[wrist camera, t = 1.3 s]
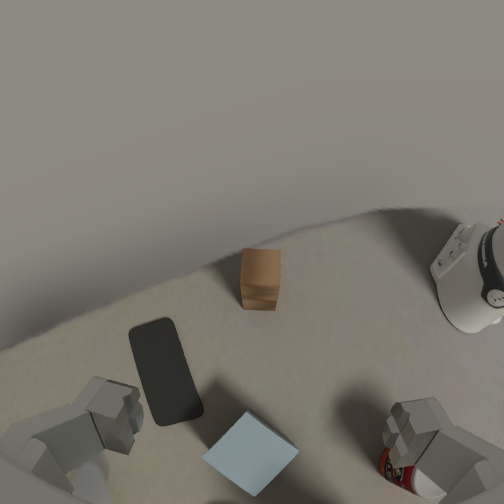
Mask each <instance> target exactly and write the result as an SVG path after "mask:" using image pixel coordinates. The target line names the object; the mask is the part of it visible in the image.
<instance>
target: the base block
mask: <svg viewBox="0 0 504 504" xmlns="http://www.w3.org/2000/svg"><path fill="white" fill-rule="evenodd" d="M298 452H299V450H298V448H297V447H296V446H295V445H294V444H293V443H292V442H291V441H289V440H288V439H286V438H285V437H283V436H282V435H281V434H279V433H278V432H277V431H275V430H274V429H273V428H271V427H270V426H268V425H267V424H266V423H264V422H263V421H262V420H261V419H259V418H258V417H257V416H255V415H254V414H253V413H252V412H250V411H249V410H247V411H246V412H245V413H244V414H243V415H242V416H241V417H240V418H239V419H238V421H237V422H236V423H235V424H234V425H233V426H232V427H231V428H230V429H229V430H228V431H227V432H226V433H225V434H224V435H223V436H222V437H221V438H220V439H219V440H218V441H217V442H216V443H215V444H214V445H213V446H212V447H211V448H210V449H209V450H208V451H207V452H206V453H205V454H204V456H203V457H202V458H203V459H204V460H205V461H206V462H208V463H209V464H210V465H211V466H213V467H214V468H215V469H216V470H218V471H219V472H220V473H222V474H223V475H224V476H226V477H227V478H228V479H230V480H231V481H232V482H234V483H235V484H237V485H238V486H239V487H241V488H242V489H244V490H245V491H247V492H248V493H250V494H251V495H253V496H254V497H255V496H256V495H257V494H258V493H259V492H260V491H261V490H262V489H263V488H264V487H265V486H267V485H268V484H269V483H270V482H271V481H272V480H273V479H274V478H275V477H276V476H277V475H278V474H279V473H280V472H281V470H282V469H283V468H284V467H285V466H286V465H287V464H288V463H289V462H290V461H291V460H292V459H293V458H294V457H295V456H296V454H297V453H298Z"/></svg>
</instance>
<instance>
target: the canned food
mask: <svg viewBox="0 0 504 504" xmlns="http://www.w3.org/2000/svg"><path fill="white" fill-rule="evenodd" d="M389 452H390V449H389V448H388V447H387V448H386V450H385V451H384V453H383V455H382V457H381V460H380V470H381V473H382V475H383V476H384V478H385V479H386V480H388V481H389V482H391V483H393V484H395V485H397V486H399V487H401V488H403V489H405V490H407V491H409V492H411V493H413V494H415V495H418V496H420V497H423V498H436V497H439V496H441V495H443V494H445V493H446V492H445V491H444V490H442V489H441V488H440V487H439V486H438V485H436V484H435V483H434V482H433V481H432V480H430V479H429V478H428V477H427V476H426V475H425V474H423V473H422V472H421V471H420V470H419V469H418V468H416V467H415V465H412V466H406V467H401V468H395V469H393V466H392V464H391V461H390V458H389V455H388V454H389Z"/></svg>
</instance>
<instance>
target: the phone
mask: <svg viewBox="0 0 504 504" xmlns="http://www.w3.org/2000/svg"><path fill="white" fill-rule="evenodd" d="M129 339H130V344H131V347H132V351H133V355H134V359H135V362H136V366H137V369H138V373H139V376H140V379H141V383H142V386H143V389H144V392H145V395H146V398H147V401H148V404H149V407H150V410H151V413H152V416H153V419H154V421H155V423H156V424H157V425H159V426H168V425H172V424H176V423H179V422H183V421H187V420H190V419H194V418H197V417H199V416H201V415H202V413H203V407H202V404H201V401H200V398H199V396H198V393H197V390H196V388H195V385H194V382H193V379H192V376H191V374H190V371H189V368H188V365H187V362H186V359H185V356H184V352H183V349H182V346H181V343H180V341H179V338H178V334H177V331H176V328H175V325H174V323H173V322H172V321H171V320H170V319H163V320H160V321H157V322H154V323H151V324H147V325H144V326H141V327H138V328H136V329H133V330H132V331H131V332H130V334H129Z"/></svg>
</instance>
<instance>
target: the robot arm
mask: <svg viewBox="0 0 504 504" xmlns="http://www.w3.org/2000/svg"><path fill="white" fill-rule="evenodd" d="M500 220H501V221H502V222H503V223H501V222H499V221H498V224H499V225H500V226H497V227H495V228H492V227H490V226H489V225H487V224H485V223H481V222H477V223H476V224H474V225H473V226H472V227H471V226H469V225H466V224H462V223H461V224H459V225H458V226H457V227H456V229H455V230H454V232H453V233H452V235H451V236H450V238H449V239H448V241H447V242H446V244H445V245H444V247H443V248H442V250H441V251H440V253H439V254H438V255H437V257H436V258H435V260H434V261H433V262H432V264H431V265H430V272H431V274H432V276H433V278H434V280H435V282H436V285H437V291H438V297H439V301H440V304H441V307H442V310H443V312H444V313H445V315H446V317H447V318H448V320H449V321H450V322H451V323H452V324H453V325H454V326H455V327H456V328H457V329H459V330H461V331H463V332H466V333H477V332H479V331H481V330H482V329H484V328H485V327H486V326H488V325H495V324H497V323H499V322H500V320H501V317H502V316H503V315H504V221H503V220H502V219H500ZM439 265H440V266H439ZM139 398H140V392H139V388H137V387H135V386H131V385H127V384H124V383H120V382H116V381H113V380H108V379H105V378H102V377H98V376H95V377H93V378H92V379H91V380H90V381H89V383H88V384H87V385H86V386H85V388H84V389H83V390H82V392H81V393H80V394H79V395H78V397H77V398H76V399H75V401H74V402H73V403H72V405H70V404H66V405H63V406H60V407H58V408H55V409H53V410H50V411H47V412H44V413H42V414H39V415H36V416H33V417H31V418H28V419H25V420H22V421H19V422H16V423H13V424H12V425H11V426H10V427H9V428H8V430H7V431H6V432H5V433H4V434H3V436H2V437H1V438H0V504H93V503H91V502H88V501H86V500H84V499H81V498H79V497H77V496H75V495H72V492H73V490H74V487H73V484H72V483H71V482H70V480H69V479H68V478H67V476H66V475H65V474H67V473H68V472H70V471H72V470H73V469H75V468H77V467H78V466H80V465H82V464H83V463H85V462H86V461H88V460H90V459H91V458H93V457H94V456H96V455H97V454H99V453H100V452H102V451H104V449H108V450H111V451H114V452H118V453H121V454H125V455H129V453H130V451H131V449H132V446H133V444H134V442H135V440H134V436H133V435H134V434H136V433H137V432H139V431H140V429H141V426H142V423H143V418H144V414H143V406H142V405H141V404H140V403H139V401H138V400H139ZM391 413H392V416H391V417H389V418H388V419H387V420H386V422H385V424H384V426H383V432H382V437H383V441H384V444H385V446H387V447H388V448H389V449H390V452H389V454H388V455H389V458H390V461H391V464H392V466H393V469H395V468H401V467H406V466H412V465H415V467H416V468H418V469H419V470H420V471H421V472H422V473H423V474H425V475H426V476H427V477H428V478H429V479H430V480H432V481H433V482H434V483H435V484H436V485H438V486H439V487H440V488H441V489H442V490H444V491H445V492H446V493H447V495H446V496H445V497H444V498H443V499H442V500H441V501H440V502H439V503H438V504H504V450H503V449H501V448H499V447H497V446H495V445H493V444H491V443H489V442H487V441H485V440H483V439H481V438H480V437H478V436H476V435H474V434H472V433H470V432H468V431H467V430H465V429H463V428H461V427H459V426H454V425H453V423H452V422H451V420H450V419H449V417H448V415H447V414H446V412H445V411H444V409H443V408H442V406H441V405H440V403H439V401H438V400H437V399H436V398H435V397H430V398H424V399H418V400H411V401H403V402H396V403H395V404H394V405H393V407H392V409H391Z"/></svg>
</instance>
